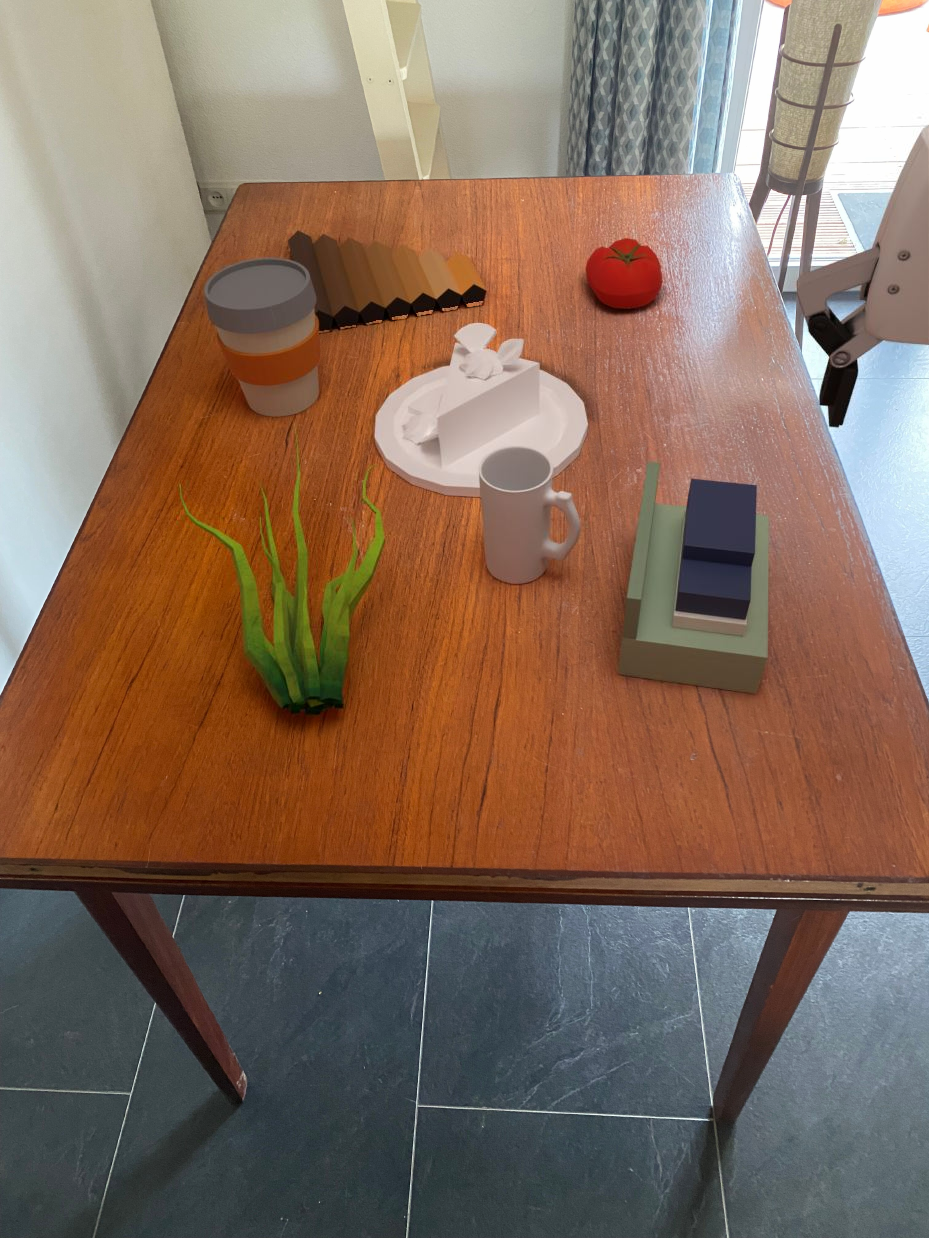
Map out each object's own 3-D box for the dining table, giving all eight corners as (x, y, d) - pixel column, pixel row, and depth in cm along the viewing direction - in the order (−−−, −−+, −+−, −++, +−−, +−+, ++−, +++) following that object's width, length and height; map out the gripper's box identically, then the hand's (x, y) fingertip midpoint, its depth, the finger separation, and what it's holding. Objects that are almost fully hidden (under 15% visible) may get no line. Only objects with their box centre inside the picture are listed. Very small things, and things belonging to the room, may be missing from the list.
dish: (439, 354, 118) (432, 271, 110) (619, 398, 109) (626, 312, 101) (334, 460, 104) (317, 375, 96) (531, 521, 95) (531, 433, 87)
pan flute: (290, 253, 140) (309, 335, 123) (286, 232, 137) (305, 312, 121) (447, 228, 143) (487, 304, 126) (446, 207, 140) (486, 281, 124)
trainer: (682, 520, 87) (690, 474, 83) (747, 527, 86) (758, 481, 82) (671, 627, 78) (679, 582, 74) (743, 636, 77) (755, 591, 73)
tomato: (602, 322, 121) (605, 275, 117) (577, 283, 129) (578, 238, 124) (671, 310, 123) (676, 263, 118) (642, 273, 130) (646, 227, 125)
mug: (470, 572, 91) (464, 477, 82) (504, 532, 94) (501, 437, 86) (560, 607, 87) (564, 512, 78) (591, 564, 91) (598, 468, 82)
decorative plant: (421, 511, 98) (408, 394, 87) (344, 736, 78) (315, 621, 67) (263, 497, 100) (232, 381, 90) (151, 709, 81) (93, 595, 70)
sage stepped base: (759, 553, 90) (779, 474, 83) (756, 694, 79) (780, 616, 71) (638, 539, 93) (647, 461, 85) (617, 674, 81) (626, 597, 74)
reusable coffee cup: (278, 358, 120) (252, 248, 108) (353, 384, 115) (334, 271, 103) (212, 407, 113) (178, 294, 102) (289, 436, 108) (261, 321, 97)
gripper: (1223, 86, 42) (1064, 398, 55) (835, 79, 46) (769, 375, 58) (1280, 149, 38) (1091, 475, 50) (841, 136, 41) (768, 445, 53)
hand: (918, 421), depth 54 cm, fingers open, 9 cm apart
